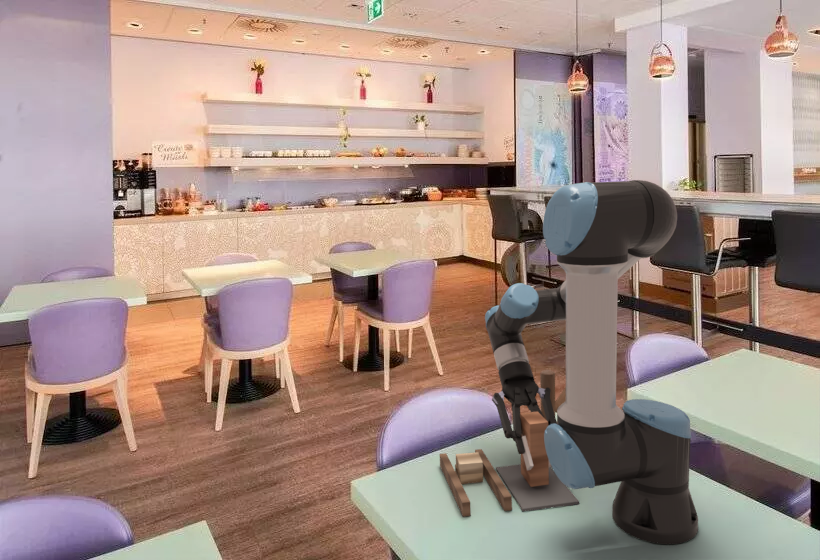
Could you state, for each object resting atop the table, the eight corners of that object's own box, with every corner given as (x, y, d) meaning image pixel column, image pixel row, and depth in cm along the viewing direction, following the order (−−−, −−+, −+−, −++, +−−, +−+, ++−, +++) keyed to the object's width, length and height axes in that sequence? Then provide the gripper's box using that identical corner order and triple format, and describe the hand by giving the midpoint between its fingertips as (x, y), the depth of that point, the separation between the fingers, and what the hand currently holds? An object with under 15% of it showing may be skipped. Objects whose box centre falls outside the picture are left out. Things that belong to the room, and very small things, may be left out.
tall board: (548, 484, 125) (548, 422, 123) (530, 486, 124) (529, 424, 122) (538, 471, 131) (537, 411, 128) (521, 473, 130) (520, 413, 128)
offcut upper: (483, 472, 130) (482, 462, 129) (459, 474, 129) (459, 464, 129) (478, 462, 135) (478, 452, 134) (456, 464, 134) (455, 454, 134)
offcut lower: (483, 482, 130) (482, 472, 130) (460, 485, 130) (459, 474, 129) (477, 472, 135) (477, 461, 135) (455, 474, 135) (455, 464, 134)
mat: (579, 504, 120) (579, 501, 120) (522, 511, 118) (522, 508, 118) (545, 463, 137) (545, 461, 137) (495, 469, 135) (495, 467, 135)
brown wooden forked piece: (580, 435, 152) (581, 368, 149) (546, 443, 148) (545, 375, 145) (571, 429, 155) (571, 364, 152) (537, 438, 151) (536, 370, 148)
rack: (512, 510, 119) (511, 496, 118) (462, 516, 117) (462, 502, 117) (481, 460, 140) (481, 449, 140) (440, 465, 139) (439, 453, 138)
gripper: (544, 371, 141) (574, 468, 127) (475, 378, 138) (498, 477, 125) (553, 356, 135) (585, 455, 121) (480, 362, 132) (505, 465, 119)
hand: (541, 466), depth 123 cm, fingers closed on tall board, 4 cm apart
